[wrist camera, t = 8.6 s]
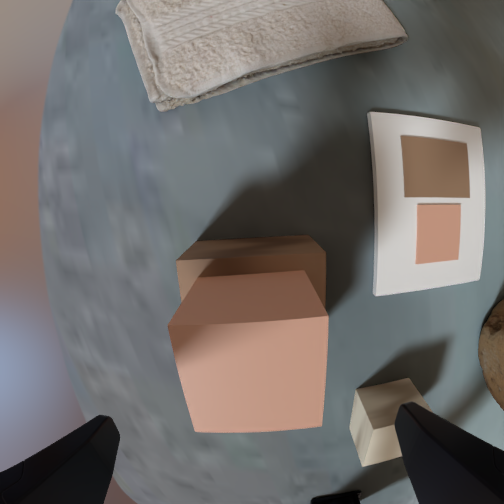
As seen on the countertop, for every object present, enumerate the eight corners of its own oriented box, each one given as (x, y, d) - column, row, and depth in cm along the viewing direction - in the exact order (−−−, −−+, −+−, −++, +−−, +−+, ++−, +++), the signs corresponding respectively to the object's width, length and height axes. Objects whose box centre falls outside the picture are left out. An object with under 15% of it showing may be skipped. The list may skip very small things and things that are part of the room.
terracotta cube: (304, 270, 13) (328, 315, 9) (305, 359, 15) (321, 426, 10) (197, 277, 14) (167, 325, 9) (211, 365, 15) (195, 431, 10)
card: (475, 128, 16) (481, 127, 15) (475, 277, 18) (480, 280, 18) (367, 113, 16) (371, 111, 15) (372, 293, 19) (376, 297, 18)
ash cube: (408, 377, 21) (432, 412, 16) (397, 416, 22) (416, 451, 17) (355, 388, 21) (373, 429, 16) (349, 427, 22) (362, 466, 17)
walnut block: (307, 234, 18) (326, 252, 13) (308, 333, 20) (321, 375, 15) (196, 240, 18) (176, 260, 13) (208, 338, 20) (195, 380, 15)
